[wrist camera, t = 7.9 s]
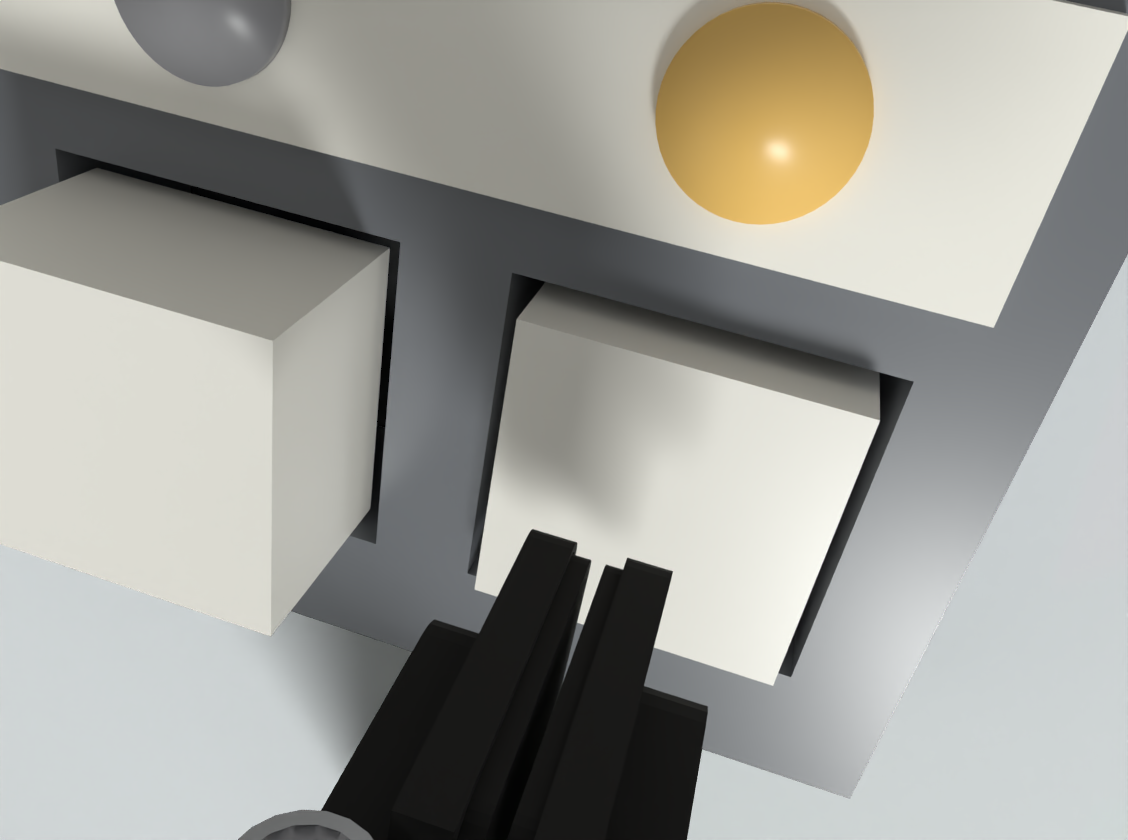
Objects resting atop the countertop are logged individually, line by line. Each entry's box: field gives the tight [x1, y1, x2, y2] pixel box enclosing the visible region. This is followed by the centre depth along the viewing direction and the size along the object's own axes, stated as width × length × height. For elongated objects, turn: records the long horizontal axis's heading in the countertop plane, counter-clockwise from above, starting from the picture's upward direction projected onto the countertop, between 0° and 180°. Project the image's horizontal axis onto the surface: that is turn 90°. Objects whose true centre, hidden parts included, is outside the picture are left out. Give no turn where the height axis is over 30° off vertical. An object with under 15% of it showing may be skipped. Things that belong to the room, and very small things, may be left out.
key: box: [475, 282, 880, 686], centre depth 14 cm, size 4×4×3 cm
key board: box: [0, 0, 1128, 799], centre depth 14 cm, size 12×21×4 cm, turn 80°
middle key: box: [0, 168, 390, 636], centre depth 13 cm, size 4×4×3 cm
